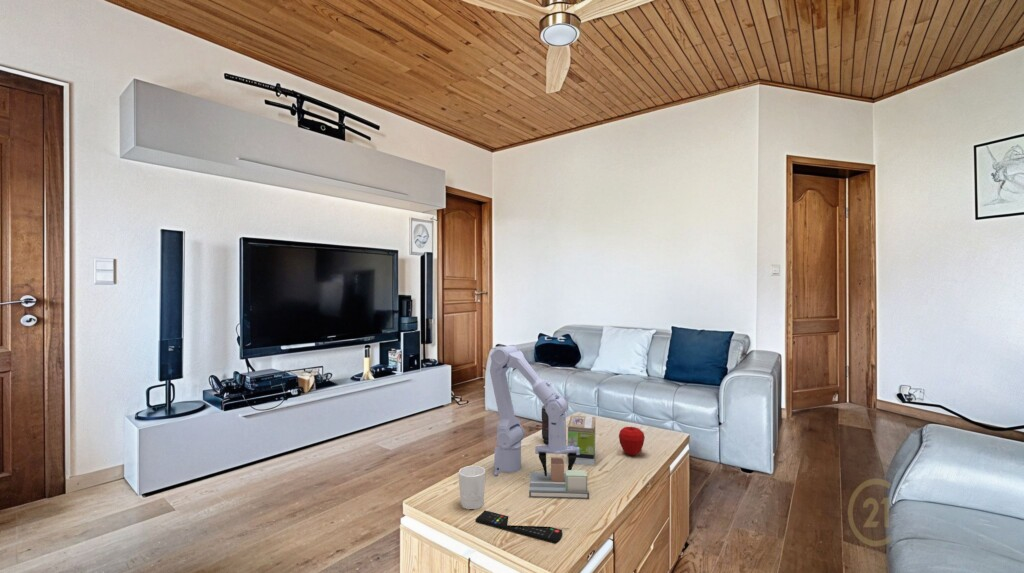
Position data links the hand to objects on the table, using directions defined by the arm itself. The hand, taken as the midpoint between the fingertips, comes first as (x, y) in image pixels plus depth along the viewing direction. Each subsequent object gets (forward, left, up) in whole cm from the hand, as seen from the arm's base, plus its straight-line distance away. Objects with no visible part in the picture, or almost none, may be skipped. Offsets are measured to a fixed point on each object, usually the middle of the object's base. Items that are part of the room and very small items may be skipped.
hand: (557, 475), depth 144 cm
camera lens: (-1, +38, -3) cm, 38 cm away
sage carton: (+5, -9, -1) cm, 11 cm away
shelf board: (0, -4, -2) cm, 5 cm away
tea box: (+10, +20, -3) cm, 23 cm away
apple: (+30, +27, -3) cm, 40 cm away
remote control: (-12, -28, -3) cm, 30 cm away
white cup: (-26, -16, -3) cm, 31 cm away
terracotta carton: (0, 0, -1) cm, 1 cm away
